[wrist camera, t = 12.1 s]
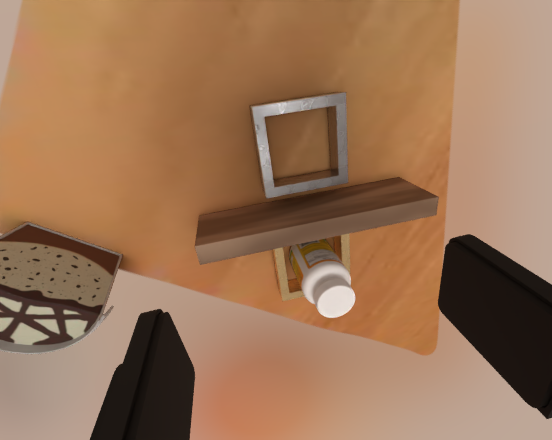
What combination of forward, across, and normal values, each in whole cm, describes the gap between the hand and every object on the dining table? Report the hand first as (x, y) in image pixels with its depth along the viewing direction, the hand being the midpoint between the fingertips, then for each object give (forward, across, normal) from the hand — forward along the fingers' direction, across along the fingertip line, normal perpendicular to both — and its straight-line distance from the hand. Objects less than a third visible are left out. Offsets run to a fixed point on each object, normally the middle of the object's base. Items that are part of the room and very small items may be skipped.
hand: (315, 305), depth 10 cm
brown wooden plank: (+23, -5, +7) cm, 25 cm away
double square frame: (+23, -5, +7) cm, 25 cm away
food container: (+23, +22, +8) cm, 33 cm away
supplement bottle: (+23, -5, +14) cm, 28 cm away
